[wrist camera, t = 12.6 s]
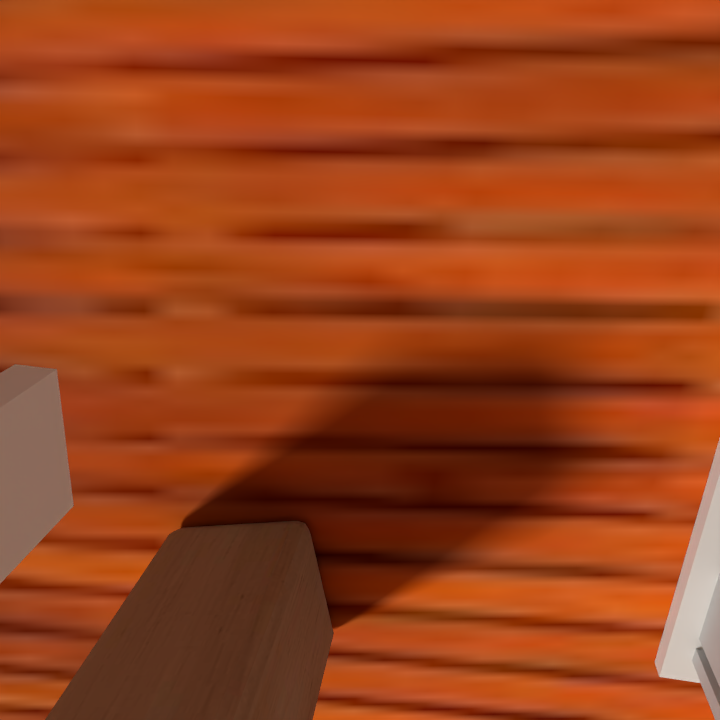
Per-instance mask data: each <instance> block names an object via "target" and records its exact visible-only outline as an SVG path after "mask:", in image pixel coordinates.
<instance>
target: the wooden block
mask: <svg viewBox="0 0 720 720" xmlns="http://www.w3.org/2000/svg"><path fill="white" fill-rule="evenodd" d="M332 638H333V629H332V624H331V620H330V616H329V611H328V607H327V603H326V598H325V594H324V590H323V585H322V581H321V577H320V572H319V568H318V564H317V559H316V555H315V551H314V546H313V542H312V538H311V534H310V531H309V528H308V527H307V525H306V524H305V523H303V522H299V521H283V522H267V523H251V524H234V525H218V526H202V527H185V528H181V529H178V530H176V531H174V532H172V533H171V534H169V536H168V537H167V539H166V540H165V542H164V543H163V545H162V546H161V548H160V549H159V551H158V552H157V554H156V555H155V557H154V558H153V559H152V561H151V562H150V564H149V565H148V567H147V568H146V570H145V571H144V573H143V574H142V576H141V577H140V579H139V580H138V582H137V583H136V585H135V586H134V588H133V589H132V591H131V592H130V594H129V595H128V597H127V598H126V600H125V601H124V603H123V604H122V606H121V607H120V609H119V610H118V612H117V613H116V615H115V616H114V618H113V619H112V621H111V622H110V624H109V625H108V627H107V628H106V630H105V631H104V633H103V634H102V636H101V637H100V639H99V640H98V642H97V643H96V645H95V646H94V648H93V649H92V651H91V652H90V654H89V655H88V657H87V658H86V660H85V661H84V663H83V664H82V666H81V667H80V669H79V670H78V672H77V673H76V675H75V676H74V678H73V679H72V681H71V682H70V684H69V685H68V687H67V688H66V690H65V691H64V693H63V694H62V695H61V697H60V698H59V700H58V701H57V703H56V704H55V706H54V707H53V709H52V710H51V712H50V713H49V715H48V716H47V718H46V719H45V720H312V719H313V715H314V711H315V707H316V703H317V699H318V695H319V691H320V687H321V683H322V678H323V674H324V670H325V666H326V662H327V658H328V654H329V650H330V646H331V642H332Z"/></svg>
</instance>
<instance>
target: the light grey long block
mask: <svg viewBox="0 0 720 720" xmlns="http://www.w3.org/2000/svg"><path fill="white" fill-rule="evenodd" d="M655 665H656V668H657V671H658V674H659V677H665V678H671V679H678V680H684V681H691V682H697V683H701V685H702V687H703V690H704V692H705V695H706V697H707V700H708V703H709V705H710V708H711V710H712V713H713V715H714V718H715V720H720V439H719V442H718V446H717V449H716V452H715V456H714V459H713V463H712V466H711V470H710V473H709V477H708V480H707V483H706V487H705V490H704V494H703V497H702V501H701V504H700V508H699V511H698V514H697V518H696V521H695V525H694V528H693V532H692V535H691V539H690V542H689V545H688V549H687V552H686V556H685V559H684V563H683V566H682V570H681V573H680V576H679V580H678V583H677V587H676V590H675V594H674V597H673V601H672V604H671V607H670V611H669V614H668V618H667V621H666V625H665V628H664V632H663V635H662V638H661V642H660V645H659V649H658V652H657V656H656V659H655Z"/></svg>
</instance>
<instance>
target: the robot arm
mask: <svg viewBox="0 0 720 720" xmlns="http://www.w3.org/2000/svg"><path fill="white" fill-rule="evenodd" d="M73 506H74V505H73V497H72V489H71V481H70V473H69V465H68V457H67V449H66V441H65V432H64V424H63V416H62V408H61V400H60V392H59V384H58V376H57V369H50V368H41V367H32V366H24V365H13V366H12V367H10V368H8V369H7V370H5V371H3V372H2V373H0V583H1V582H2V581H3V580H4V579H5V578H6V577H7V576H8V575H9V574H10V573H11V572H12V570H13V569H14V568H15V567H16V566H17V565H18V564H19V563H20V562H21V561H22V560H23V559H24V558H25V557H26V556H27V555H28V554H29V552H30V551H31V550H32V549H33V548H34V547H35V546H36V545H37V544H38V543H39V542H40V541H41V540H42V539H43V538H44V537H45V536H46V535H47V533H48V532H49V531H50V530H51V529H52V528H53V527H54V526H55V525H56V524H57V523H58V522H59V521H60V520H61V519H62V518H63V517H64V515H65V514H66V513H67V512H68V511H69V510H70V509H71V508H72V507H73Z"/></svg>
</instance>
